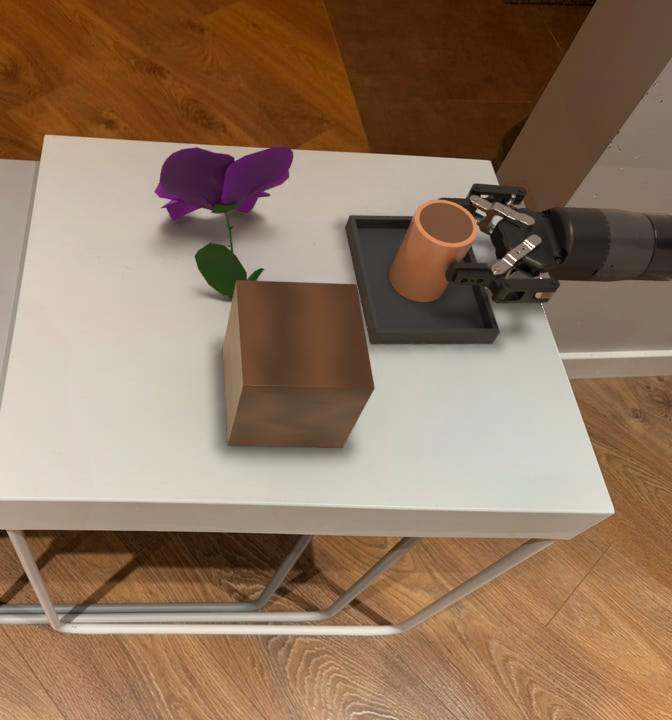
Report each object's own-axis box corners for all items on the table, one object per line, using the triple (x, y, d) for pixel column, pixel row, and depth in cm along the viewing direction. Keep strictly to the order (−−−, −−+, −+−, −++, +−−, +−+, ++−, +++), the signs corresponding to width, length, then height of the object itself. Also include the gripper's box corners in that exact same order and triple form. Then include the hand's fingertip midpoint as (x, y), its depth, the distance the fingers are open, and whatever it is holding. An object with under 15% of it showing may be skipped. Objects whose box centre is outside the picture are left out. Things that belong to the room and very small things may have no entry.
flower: (286, 299, 89) (266, 185, 89) (332, 272, 74) (308, 136, 75) (161, 316, 86) (143, 198, 87) (183, 292, 71) (160, 150, 72)
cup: (457, 280, 85) (490, 224, 77) (424, 312, 82) (455, 257, 74) (410, 247, 87) (437, 189, 79) (376, 277, 84) (402, 220, 77)
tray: (492, 343, 81) (500, 332, 79) (370, 343, 80) (375, 332, 78) (455, 228, 90) (462, 216, 88) (345, 227, 89) (349, 214, 87)
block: (329, 351, 79) (356, 283, 70) (342, 447, 73) (375, 388, 64) (222, 348, 78) (236, 279, 69) (227, 445, 72) (243, 385, 63)
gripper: (588, 169, 81) (438, 163, 80) (634, 275, 73) (468, 270, 72) (554, 219, 87) (415, 214, 86) (593, 321, 79) (440, 317, 78)
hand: (439, 239), depth 79 cm, fingers open, 8 cm apart
